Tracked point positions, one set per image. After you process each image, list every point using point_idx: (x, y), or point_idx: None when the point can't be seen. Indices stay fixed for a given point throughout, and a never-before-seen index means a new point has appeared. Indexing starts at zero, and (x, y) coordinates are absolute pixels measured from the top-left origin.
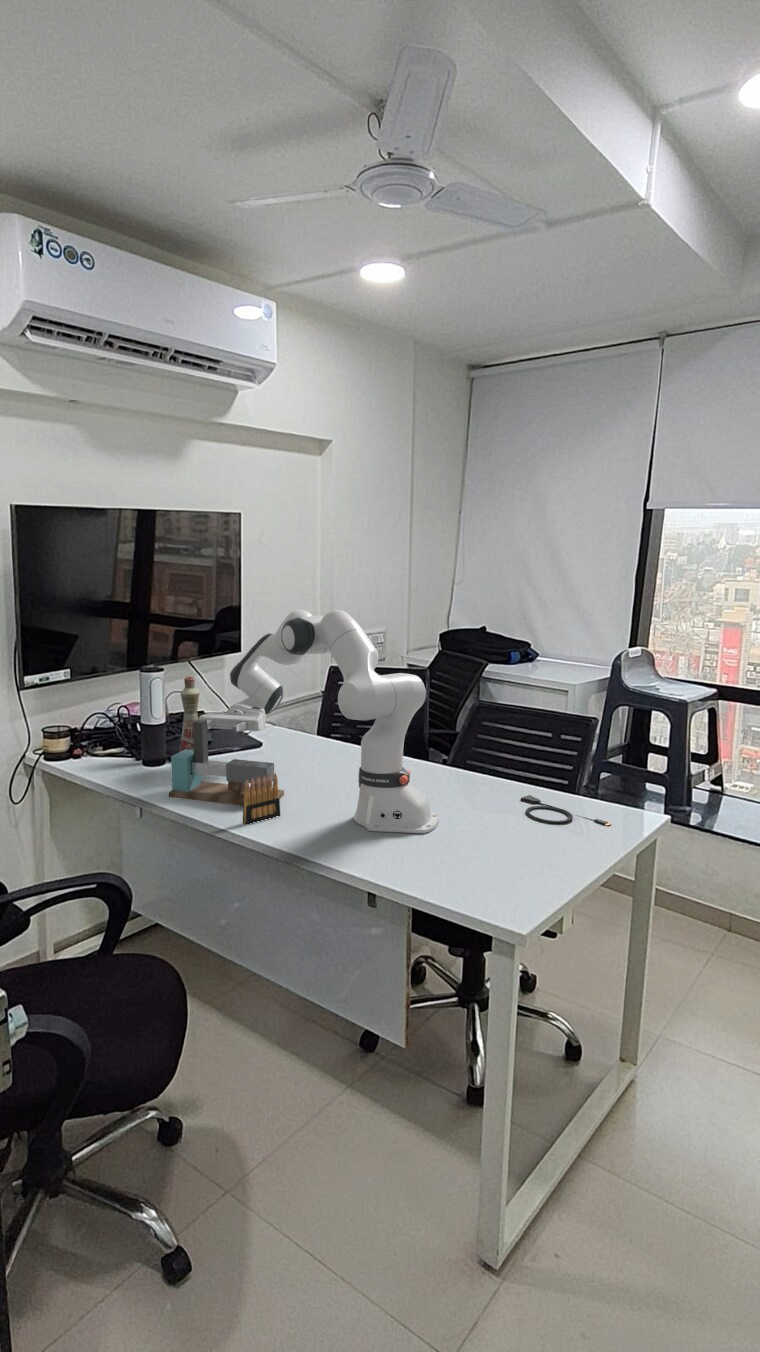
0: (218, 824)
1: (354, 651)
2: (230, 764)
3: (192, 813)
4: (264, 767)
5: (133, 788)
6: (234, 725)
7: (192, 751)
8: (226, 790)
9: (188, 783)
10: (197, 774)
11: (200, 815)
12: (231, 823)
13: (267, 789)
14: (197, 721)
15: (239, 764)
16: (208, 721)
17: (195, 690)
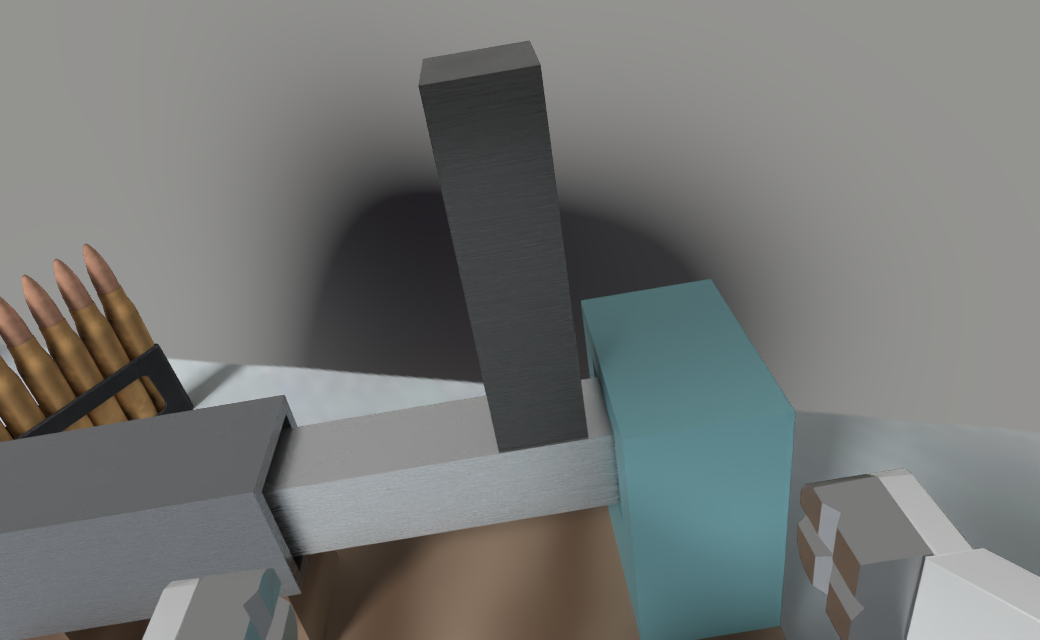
0: (288, 367)
1: None
2: (248, 401)
3: (441, 388)
4: None
5: (1036, 472)
6: (228, 582)
7: (676, 401)
8: (379, 610)
9: None
10: (623, 536)
11: (397, 389)
12: (240, 389)
13: (12, 370)
14: (492, 53)
15: (177, 421)
16: (1017, 607)
17: None
